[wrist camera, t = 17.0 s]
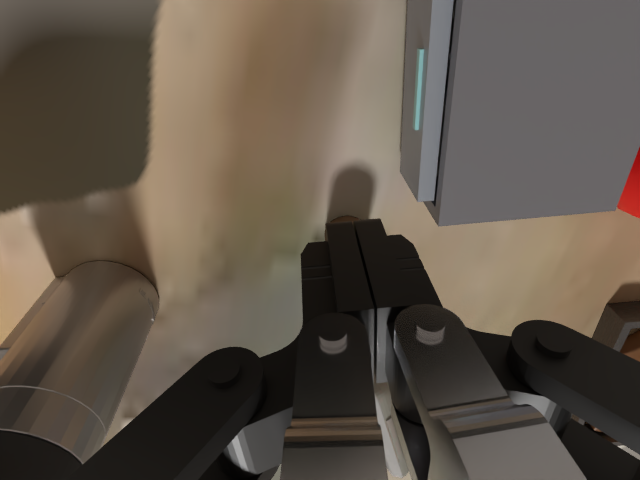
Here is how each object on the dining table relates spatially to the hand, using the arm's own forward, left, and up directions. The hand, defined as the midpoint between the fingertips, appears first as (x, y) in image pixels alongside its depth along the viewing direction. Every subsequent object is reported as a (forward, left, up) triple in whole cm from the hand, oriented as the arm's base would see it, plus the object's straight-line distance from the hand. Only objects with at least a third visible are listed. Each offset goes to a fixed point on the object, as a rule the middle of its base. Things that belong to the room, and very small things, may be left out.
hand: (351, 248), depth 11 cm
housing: (+15, 0, -23) cm, 27 cm away
